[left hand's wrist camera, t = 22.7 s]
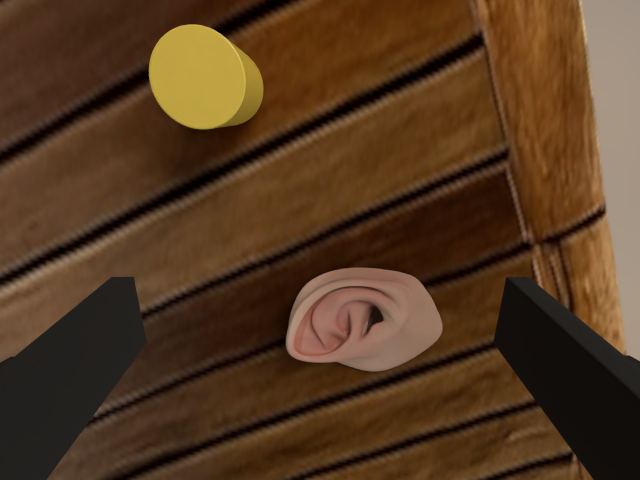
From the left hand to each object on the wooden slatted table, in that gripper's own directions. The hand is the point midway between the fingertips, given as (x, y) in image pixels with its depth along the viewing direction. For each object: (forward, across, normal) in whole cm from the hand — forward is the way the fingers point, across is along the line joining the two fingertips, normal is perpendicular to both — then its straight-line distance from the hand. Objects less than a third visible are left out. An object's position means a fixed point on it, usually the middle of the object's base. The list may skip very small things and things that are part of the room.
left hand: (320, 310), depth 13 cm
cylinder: (+18, +7, -8) cm, 21 cm away
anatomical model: (+17, -4, +11) cm, 21 cm away
